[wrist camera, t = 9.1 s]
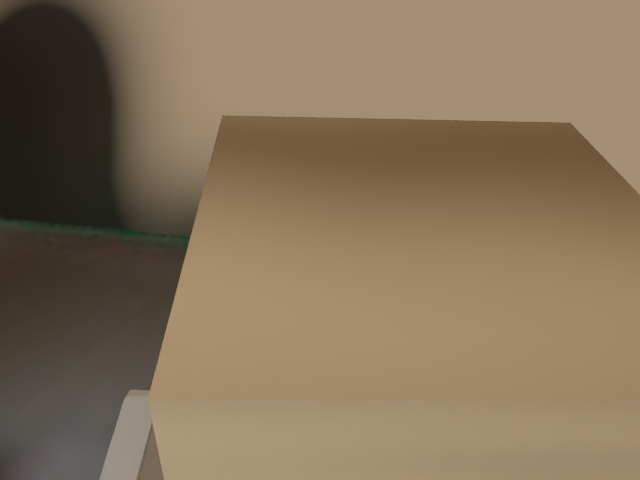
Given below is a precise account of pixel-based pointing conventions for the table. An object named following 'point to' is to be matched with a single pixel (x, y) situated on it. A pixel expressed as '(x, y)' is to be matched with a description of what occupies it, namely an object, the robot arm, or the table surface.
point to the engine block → (404, 307)
